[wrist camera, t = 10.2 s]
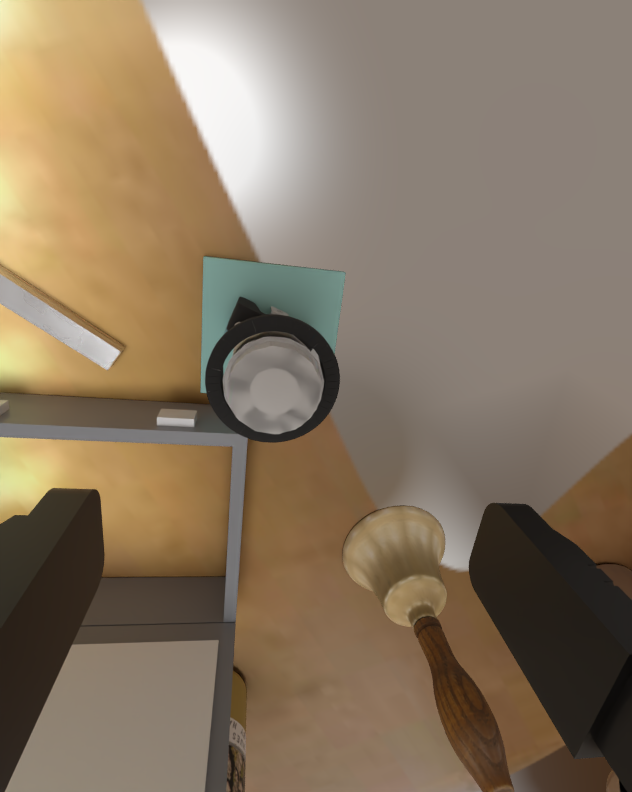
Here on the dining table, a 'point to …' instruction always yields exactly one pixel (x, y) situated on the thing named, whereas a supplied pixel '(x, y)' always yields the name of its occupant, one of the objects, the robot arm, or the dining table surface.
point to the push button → (271, 375)
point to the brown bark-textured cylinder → (237, 737)
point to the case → (138, 633)
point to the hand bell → (427, 627)
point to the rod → (57, 320)
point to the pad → (267, 297)
